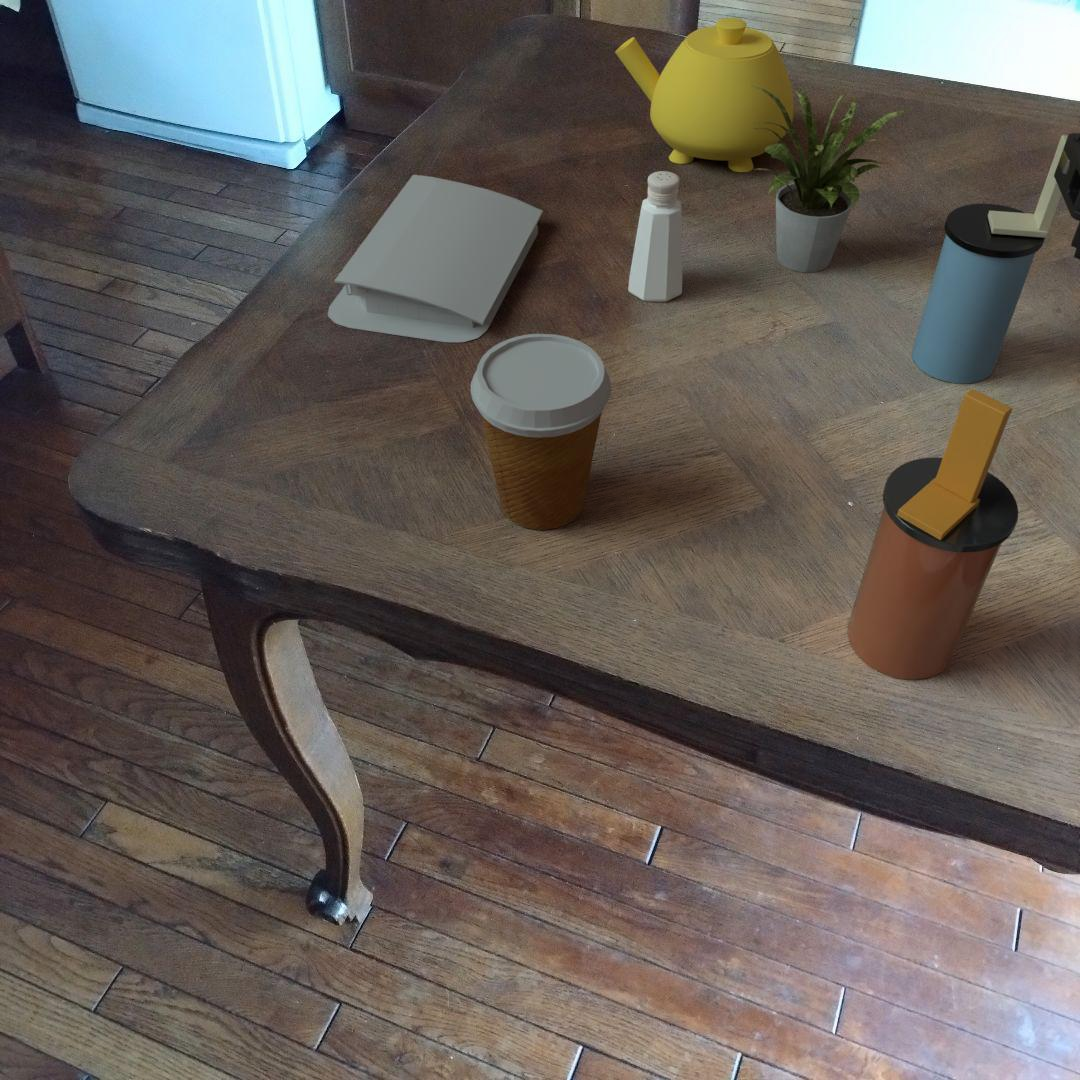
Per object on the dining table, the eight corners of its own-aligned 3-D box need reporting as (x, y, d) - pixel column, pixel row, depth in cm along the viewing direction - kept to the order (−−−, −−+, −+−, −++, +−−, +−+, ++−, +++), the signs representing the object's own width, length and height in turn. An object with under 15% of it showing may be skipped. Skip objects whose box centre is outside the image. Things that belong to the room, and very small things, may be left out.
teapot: (593, 164, 117) (597, 35, 108) (630, 107, 128) (636, -15, 118) (774, 190, 113) (794, 58, 103) (797, 129, 123) (817, 3, 113)
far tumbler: (991, 339, 93) (1038, 206, 84) (1002, 390, 88) (1053, 254, 79) (905, 331, 94) (942, 199, 85) (910, 381, 89) (951, 246, 80)
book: (317, 323, 96) (310, 285, 93) (405, 202, 112) (401, 167, 109) (479, 347, 93) (476, 309, 90) (545, 220, 109) (545, 184, 106)
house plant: (690, 267, 102) (707, 98, 90) (754, 208, 110) (777, 45, 98) (828, 313, 96) (866, 139, 85) (885, 247, 104) (927, 79, 93)
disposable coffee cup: (457, 526, 78) (445, 395, 69) (509, 447, 84) (503, 318, 75) (579, 560, 75) (582, 429, 66) (623, 476, 81) (631, 346, 73)
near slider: (935, 481, 62) (968, 385, 57) (979, 504, 60) (1016, 409, 55) (896, 515, 60) (927, 420, 55) (940, 540, 58) (976, 444, 53)
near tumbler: (883, 580, 73) (929, 439, 64) (980, 639, 70) (1043, 498, 61) (820, 638, 70) (859, 497, 61) (918, 703, 66) (976, 565, 57)
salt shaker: (640, 266, 102) (648, 157, 94) (693, 280, 100) (704, 170, 93) (616, 294, 99) (622, 183, 91) (670, 309, 97) (680, 197, 89)
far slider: (1041, 220, 83) (1072, 133, 78) (1047, 238, 81) (1079, 151, 76) (987, 216, 83) (1014, 130, 78) (991, 233, 81) (1019, 147, 76)
